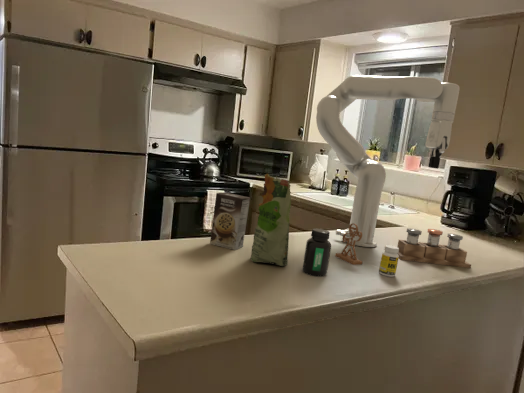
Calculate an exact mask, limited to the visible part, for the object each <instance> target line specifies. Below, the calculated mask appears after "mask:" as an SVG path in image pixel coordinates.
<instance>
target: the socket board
mask: <svg viewBox="0 0 524 393" xmlns="http://www.w3.org/2000/svg"><path fill="white" fill-rule="evenodd" d="M406 241H407V239H398V242H397V246H396V247H398V248H399V252H398V253H397V254H398V255H399V258H398V260H401V261H410V262H416V263H417V262H418V263H425V264H426V263H427V264H435V265H440V266H441V265H443V266H451V267H459V268H465V269H466V268H467V269H471V268H472V264H471V263H469V262H468V261H466V260H467V256H468V255H467V254H468V251H467V250H465V249H462V248H461V247H459V250H453V249H448V248H447V245H448V244H439V245H438V248H436V247H429V246H427V242H423V241H422V242H421V241H418V244H417V245H412V244H407V243H406Z"/></svg>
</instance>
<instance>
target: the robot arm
mask: <svg viewBox="0 0 524 393" xmlns="http://www.w3.org/2000/svg"><path fill="white" fill-rule="evenodd" d="M459 93H460V85H458V84H457V83H452V82H442V81H441V80H439V79H438V78H436V77H432V76H431V77H429V76H428V77H427V76H384V75H383V76H382V75H364V74H362V75H361V74H360V75H359V74H355V75H354V74H353V75H349V76H347V77H346V78H345V79H344V80H343V81H342V82H341V83H339V85H338V86H336V88H334V89H333V90H331V91H330V92H329V93H328V94H327V95H325V96H324V97H322V99H320V100H319V101H318V103H317V105H316V117H315V118H316V128H317V130H318V133H319V135H320V136H321V138H322V139H323V140H324V141H325V142H326V143H327V144H328V146H329V147H330V148H331V150H332V151H334V152H335V154H336V157H337V159H338V161H339V162H340V163H341V164H342V165H343V166H344V167H345V168H346V169H347V170H348V171H349V172H350V174H352V175H353V177H354V178H355V179H356V180H357V183H356V187H355V192H354V196H353V197H354V198H353V203H352V207H351V208H352V209H351V216H350V222H349V225H350V224H352V223H355V224H356V225H357V226H358V232H362V238H361V240H360V241H357V240H358V239H359V238H360V237H358V236H355V238H353V241H354V240H356V241H355V246H357V247H364V248H375V247H377V245H378V244H377V243H378V242H377V241H375V240H374V237H375V231H376V226H377V221H378V216H379V215H378V214H379V210H380V203H381V197H382V192H383V189H384V185H385V182H386V176H387V175H386V169H385V167H384V166H383V164H381V163H380V162H379V161H376V160H373V159H372V158H371V157H370V156H369V155H368V153H367V152H366V151H365V149H364V146H363V145H362V143H361V142H359V141H358V140H357V139H356V138H355V137H354V136H353V135H352V133H350V132H349V130H348V129H346V127H345V126H344V125H343V123H342V122H341V119H340V115H341V113H342V112H344V111H345V109H347V108H348V107H349V106H351V104H352V103H353V102H355V101H356V100H366V101H367V100H368V101H370V100H371V101H385V102H386V101H395V100H400V99H401V100H403V99H415V100H416V101H419V102H420V103H433V104H434V105H433V109H432V115H431V119H430V120H431V122H430V124H429V128H428V132H427V136H426V140H425V145H424V146H425V147H426V148H428V151H429V152H430V153H429V160H428V161H429V162H428V168H429V169H430V168H431V169H432V168H433V169H439V167H440V161H441V158H442V156H443V153H445V152H446V150H447V149H449V146H450V141H451V137H452V129H453V128H452V127H453V126H452V124H454V120H455V115H456V110H457V105H458V99H459V96H460V94H459ZM351 227H354V228H356V226H355V225H354V224H353V225H352V226H351ZM351 230H352V231H353V232H354V231H356V230H353V229H351ZM345 233H348V234H346V235H345V237H346V238H352V237H350V234H349V233H350V232H349V227H348V228H346V229H344V230H343V229H342V230H341V229H336V230H335V235H337V236H342V237H343V235H344V234H345ZM359 234H360V233H359ZM356 235H357V234H356ZM344 240H345V239H344ZM345 241H346V240H345ZM350 241H351V239H350V240H349V243H350ZM353 241H352V242H353ZM350 244H351V243H350ZM352 245H353V243H352Z"/></svg>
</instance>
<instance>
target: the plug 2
mask: <svg viewBox="0 0 524 393" xmlns="http://www.w3.org/2000/svg"><path fill="white" fill-rule="evenodd" d="M447 238H448V241H447V244H446V245H447V248H448V249H453V250H459V248H460V245H461V241H462V240H463V239H464V236H463V235H459V234H455V233H447Z"/></svg>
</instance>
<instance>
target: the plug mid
mask: <svg viewBox="0 0 524 393" xmlns="http://www.w3.org/2000/svg"><path fill="white" fill-rule="evenodd" d="M426 233H428V236H427V241H426V243H427V246H429V247H436V248H438V245H440V238H441V236H443V231H442V230H439V229H434V228H428V229H427V232H426Z"/></svg>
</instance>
